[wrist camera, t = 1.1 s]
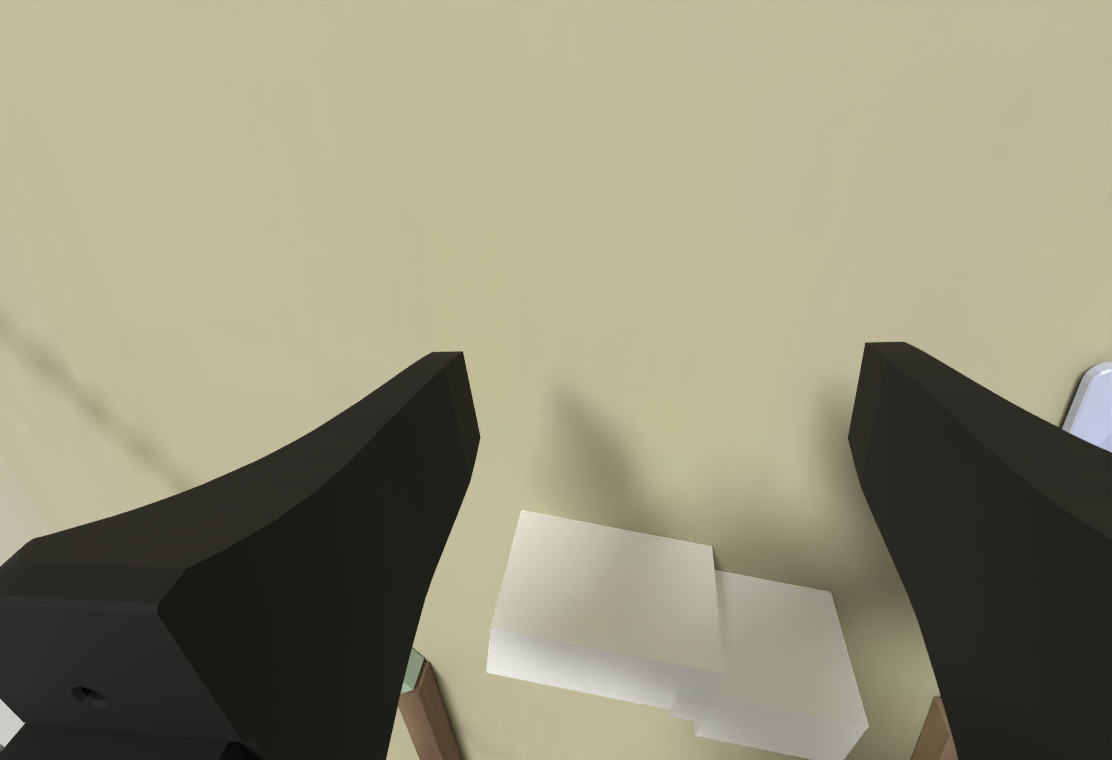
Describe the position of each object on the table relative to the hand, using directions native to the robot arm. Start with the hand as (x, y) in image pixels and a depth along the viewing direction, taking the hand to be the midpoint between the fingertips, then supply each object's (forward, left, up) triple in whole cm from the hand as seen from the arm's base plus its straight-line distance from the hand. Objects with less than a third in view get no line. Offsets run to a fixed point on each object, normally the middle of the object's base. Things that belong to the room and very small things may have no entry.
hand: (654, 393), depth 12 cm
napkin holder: (-1, +13, -7) cm, 14 cm away
